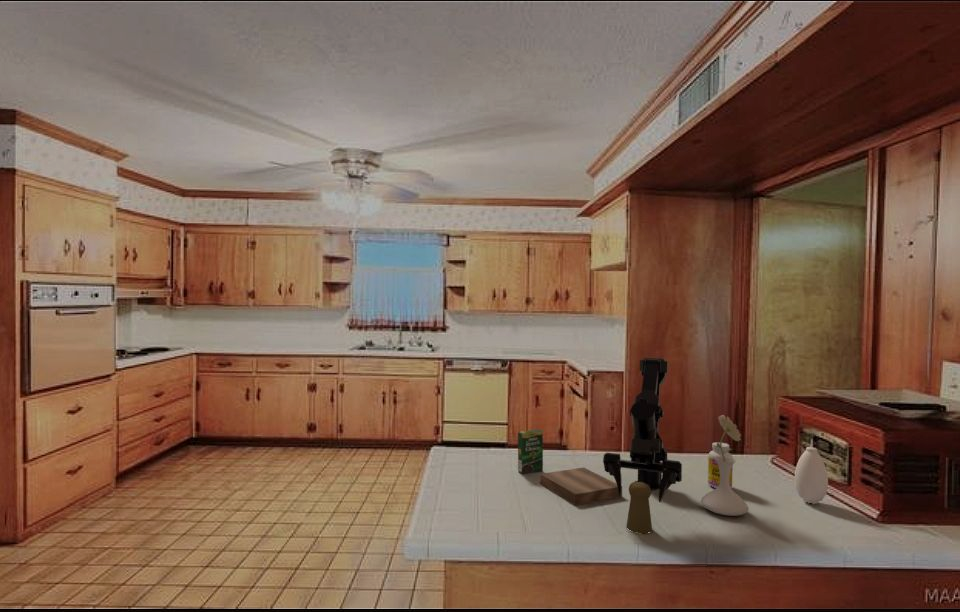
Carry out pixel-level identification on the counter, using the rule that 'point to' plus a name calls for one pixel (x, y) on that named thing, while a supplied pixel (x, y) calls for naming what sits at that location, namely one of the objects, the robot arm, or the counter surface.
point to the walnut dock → (579, 485)
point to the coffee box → (530, 451)
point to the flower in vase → (725, 480)
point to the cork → (639, 508)
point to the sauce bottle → (811, 476)
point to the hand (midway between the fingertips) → (639, 498)
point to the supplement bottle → (714, 467)
